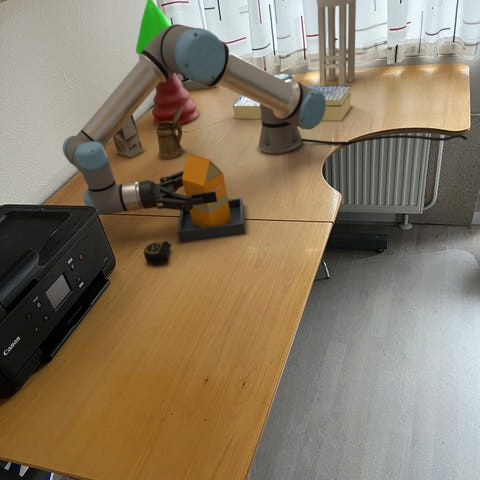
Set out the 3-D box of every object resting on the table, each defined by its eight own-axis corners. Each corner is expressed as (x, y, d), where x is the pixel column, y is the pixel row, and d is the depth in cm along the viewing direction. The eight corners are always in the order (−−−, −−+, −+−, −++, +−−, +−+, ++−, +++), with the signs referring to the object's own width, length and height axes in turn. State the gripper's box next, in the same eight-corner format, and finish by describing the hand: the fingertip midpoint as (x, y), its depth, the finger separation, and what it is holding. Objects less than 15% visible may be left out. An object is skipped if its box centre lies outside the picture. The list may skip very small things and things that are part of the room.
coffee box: (144, 151, 188) (131, 109, 177) (131, 158, 185) (118, 115, 174) (130, 147, 193) (117, 106, 182) (117, 153, 190) (103, 112, 179)
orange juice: (213, 232, 136) (199, 165, 122) (192, 224, 141) (176, 159, 127) (232, 219, 139) (220, 153, 126) (210, 211, 144) (197, 147, 131)
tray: (243, 207, 145) (242, 197, 143) (245, 233, 134) (243, 223, 132) (183, 215, 147) (180, 206, 144) (179, 242, 136) (177, 232, 134)
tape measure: (169, 265, 128) (165, 254, 126) (144, 267, 129) (140, 256, 127) (172, 250, 133) (169, 239, 131) (148, 253, 134) (145, 241, 132)
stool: (346, 91, 205) (347, -7, 181) (313, 89, 212) (310, -5, 189) (360, 78, 213) (363, -16, 190) (328, 77, 221) (327, -14, 197)
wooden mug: (186, 160, 176) (175, 110, 164) (155, 158, 181) (142, 109, 169) (197, 149, 182) (187, 100, 170) (166, 148, 187) (154, 100, 175)
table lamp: (187, 127, 200) (159, 0, 170) (146, 127, 207) (112, 5, 176) (205, 109, 213) (183, -12, 183) (166, 109, 220) (138, -7, 189)
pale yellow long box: (351, 106, 192) (351, 78, 185) (340, 121, 182) (340, 92, 175) (248, 105, 209) (245, 79, 202) (234, 118, 200) (230, 92, 193)
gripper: (150, 186, 145) (219, 176, 144) (139, 231, 127) (218, 220, 125) (143, 163, 140) (214, 152, 139) (131, 206, 122) (213, 194, 120)
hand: (216, 184), depth 132 cm, fingers open, 13 cm apart
